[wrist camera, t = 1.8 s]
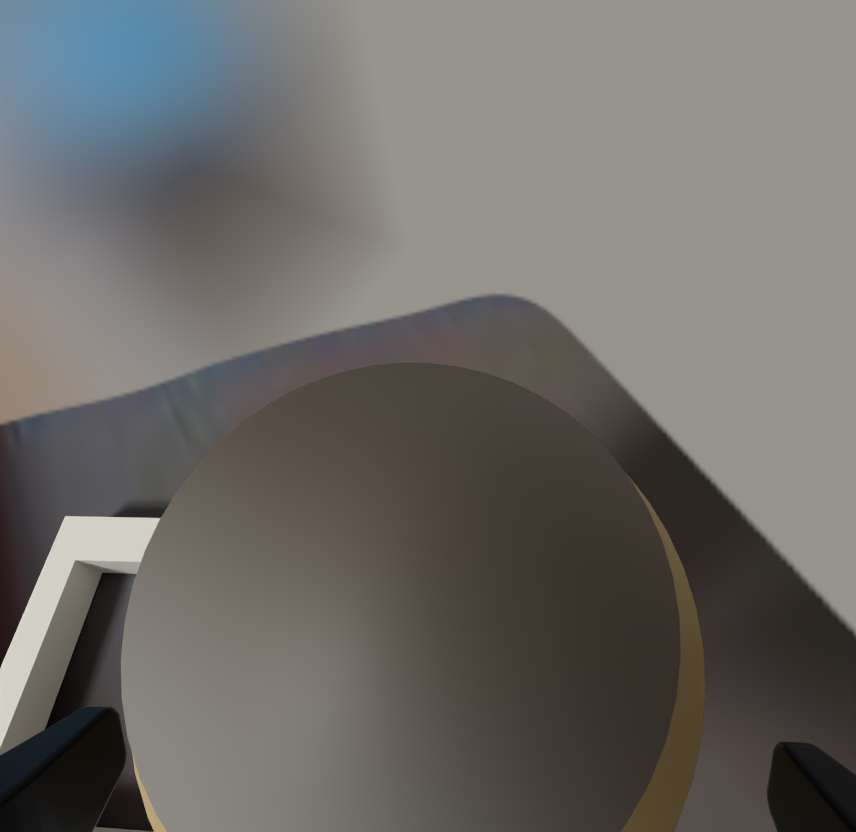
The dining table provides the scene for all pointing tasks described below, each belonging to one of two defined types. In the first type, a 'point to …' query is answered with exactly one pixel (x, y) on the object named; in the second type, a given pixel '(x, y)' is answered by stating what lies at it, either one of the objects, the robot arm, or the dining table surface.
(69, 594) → the holder
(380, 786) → the plug
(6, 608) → the dining table surface
